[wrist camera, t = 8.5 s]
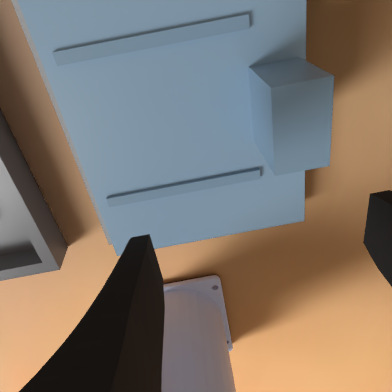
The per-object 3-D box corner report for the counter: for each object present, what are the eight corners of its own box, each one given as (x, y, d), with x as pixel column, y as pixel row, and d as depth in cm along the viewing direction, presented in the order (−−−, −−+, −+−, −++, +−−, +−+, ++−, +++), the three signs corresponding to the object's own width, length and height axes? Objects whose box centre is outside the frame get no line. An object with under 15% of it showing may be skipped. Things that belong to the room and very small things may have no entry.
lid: (298, 211, 23) (330, 263, 19) (119, 244, 23) (109, 304, 19) (297, -105, 14) (357, -144, 10) (8, -48, 14) (-57, -61, 10)
